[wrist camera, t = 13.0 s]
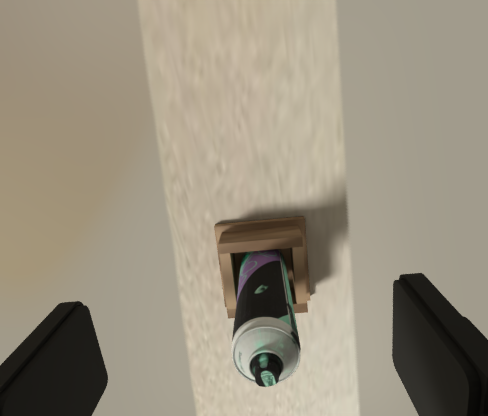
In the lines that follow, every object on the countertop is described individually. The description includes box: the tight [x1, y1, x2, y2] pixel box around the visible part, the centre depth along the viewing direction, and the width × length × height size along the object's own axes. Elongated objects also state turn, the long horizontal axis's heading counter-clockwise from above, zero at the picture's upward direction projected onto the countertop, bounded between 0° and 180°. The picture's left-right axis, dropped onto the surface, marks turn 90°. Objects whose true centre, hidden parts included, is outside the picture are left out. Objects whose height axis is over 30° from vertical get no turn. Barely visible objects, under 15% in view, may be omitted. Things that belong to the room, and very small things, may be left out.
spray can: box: [232, 249, 301, 387], centre depth 35 cm, size 6×6×20 cm
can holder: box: [214, 216, 310, 318], centre depth 43 cm, size 11×11×5 cm
